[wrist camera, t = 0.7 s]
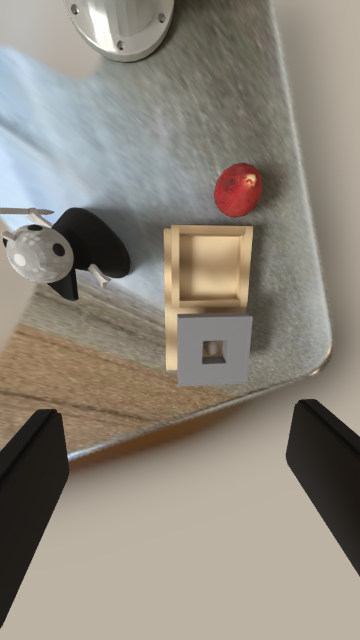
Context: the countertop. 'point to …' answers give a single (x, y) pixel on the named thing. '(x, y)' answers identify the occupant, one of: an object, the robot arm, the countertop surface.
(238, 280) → the wooden tray
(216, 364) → the gray holed slab
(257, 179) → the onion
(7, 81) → the countertop surface
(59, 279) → the toy
